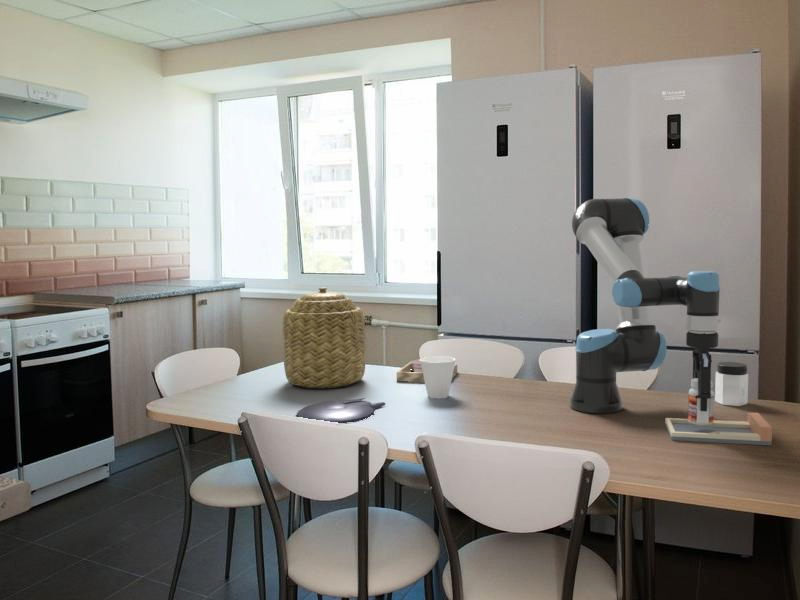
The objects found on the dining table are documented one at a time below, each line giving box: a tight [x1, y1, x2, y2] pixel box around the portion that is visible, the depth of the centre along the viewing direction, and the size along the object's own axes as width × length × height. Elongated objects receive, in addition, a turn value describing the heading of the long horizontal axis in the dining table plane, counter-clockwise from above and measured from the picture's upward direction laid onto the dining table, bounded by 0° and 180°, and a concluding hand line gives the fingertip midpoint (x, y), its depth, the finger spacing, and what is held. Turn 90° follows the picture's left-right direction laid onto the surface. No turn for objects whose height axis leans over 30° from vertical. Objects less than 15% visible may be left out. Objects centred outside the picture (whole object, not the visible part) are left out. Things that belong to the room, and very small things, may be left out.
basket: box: [282, 286, 367, 389], centre depth 250 cm, size 30×30×35 cm
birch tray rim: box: [396, 361, 458, 384], centre depth 257 cm, size 19×19×4 cm
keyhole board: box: [664, 412, 773, 446], centre depth 178 cm, size 23×14×4 cm, turn 75°
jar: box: [714, 361, 749, 407], centre depth 209 cm, size 9×8×12 cm
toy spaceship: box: [295, 397, 386, 424], centre depth 209 cm, size 28×24×3 cm
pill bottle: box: [687, 378, 715, 425], centre depth 178 cm, size 6×6×11 cm
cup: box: [419, 355, 456, 400], centre depth 226 cm, size 12×12×12 cm
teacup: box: [410, 359, 422, 372], centre depth 257 cm, size 12×12×6 cm
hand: (700, 419), depth 179 cm, fingers closed on pill bottle, 6 cm apart
